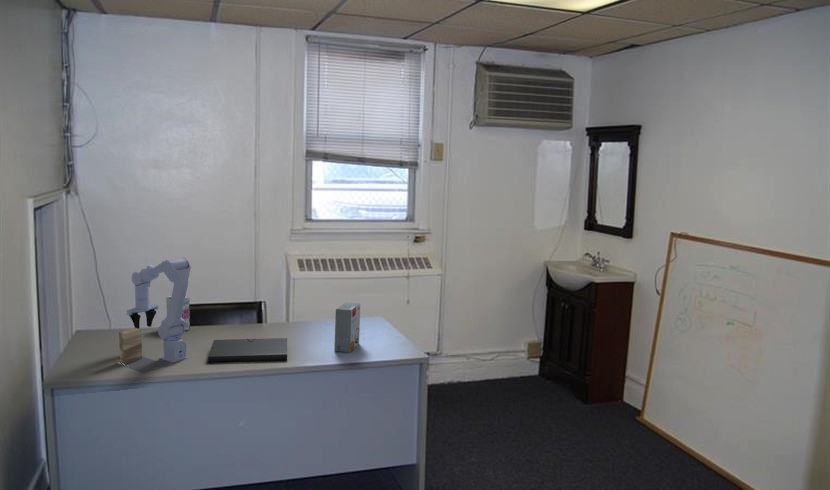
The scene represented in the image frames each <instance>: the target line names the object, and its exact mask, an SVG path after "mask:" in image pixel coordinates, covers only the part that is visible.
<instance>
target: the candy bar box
mask: <svg viewBox="0 0 830 490" xmlns="http://www.w3.org/2000/svg"><path fill="white" fill-rule="evenodd" d="M171 297H172V295H169V296H166V317H167V316H168V311H169V306H170V301H171ZM181 318H182V319H184V321H185V332H188V331H190V330H191V328H190V327H191V326H190V325H191V324H190V323H191V321H190V320H191V319H190V297H186V296H185V301H184V305H183V310H182V315H181Z"/></svg>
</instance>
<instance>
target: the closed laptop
mask: <svg viewBox="0 0 830 490" xmlns="http://www.w3.org/2000/svg"><path fill="white" fill-rule="evenodd" d="M260 361H261V362H285V361H288V337H281V338H280V337H278V338H274V337H273V338H271V337H270V338H238V339H237V338H234V339H232V338H231V339H214V340H213V341H212V345H211V347H210V349H209V352H208V355H207V363H208V364H220V363H223V364H224V363H255V362H256V363H257V362H260Z"/></svg>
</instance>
